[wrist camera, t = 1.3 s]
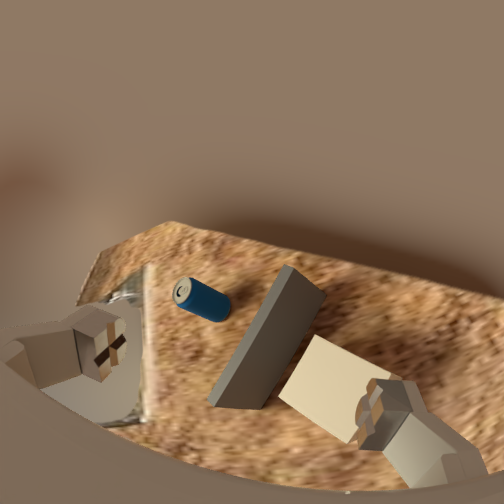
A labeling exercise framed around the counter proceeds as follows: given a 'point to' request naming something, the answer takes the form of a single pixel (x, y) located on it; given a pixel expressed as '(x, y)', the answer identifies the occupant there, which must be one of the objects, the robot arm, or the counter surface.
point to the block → (331, 387)
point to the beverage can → (201, 299)
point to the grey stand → (268, 342)
